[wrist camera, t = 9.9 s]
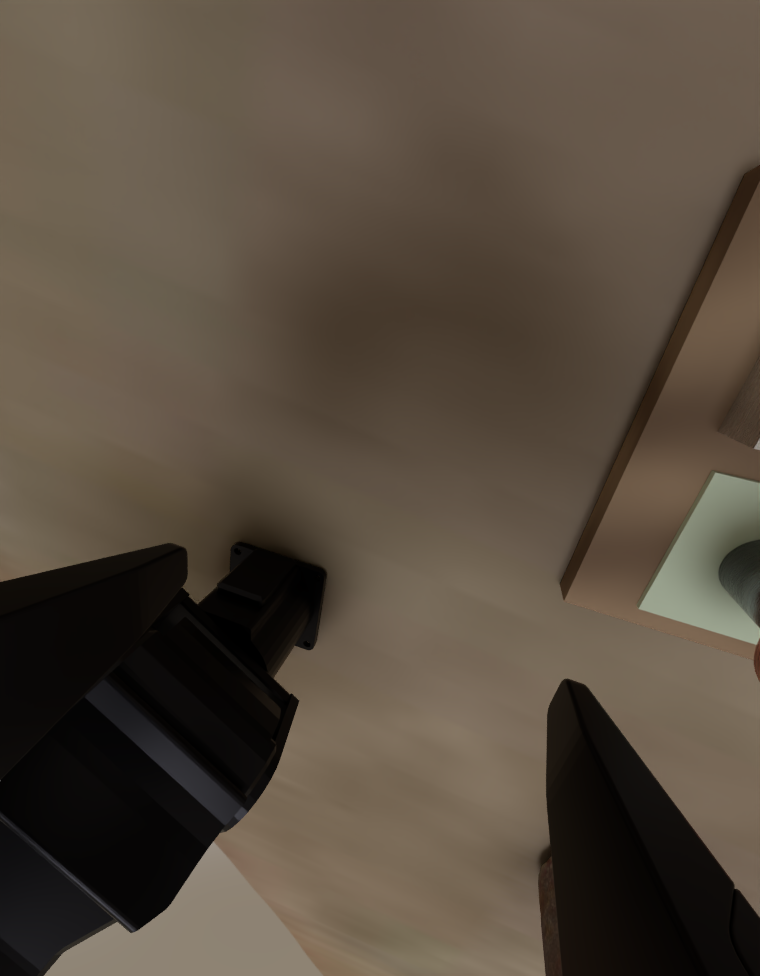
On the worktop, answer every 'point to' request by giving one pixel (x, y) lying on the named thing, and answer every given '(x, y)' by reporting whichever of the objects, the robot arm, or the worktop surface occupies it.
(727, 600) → the rubber pad
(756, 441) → the block
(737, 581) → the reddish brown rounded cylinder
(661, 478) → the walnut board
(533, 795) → the worktop surface
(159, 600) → the robot arm
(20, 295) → the worktop surface
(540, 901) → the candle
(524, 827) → the worktop surface
